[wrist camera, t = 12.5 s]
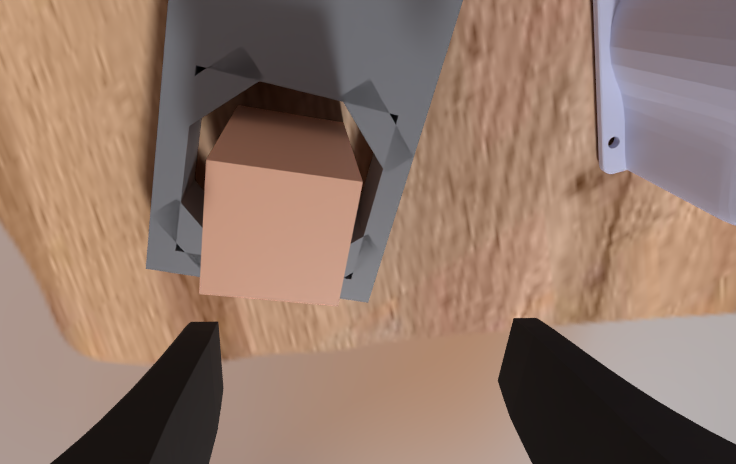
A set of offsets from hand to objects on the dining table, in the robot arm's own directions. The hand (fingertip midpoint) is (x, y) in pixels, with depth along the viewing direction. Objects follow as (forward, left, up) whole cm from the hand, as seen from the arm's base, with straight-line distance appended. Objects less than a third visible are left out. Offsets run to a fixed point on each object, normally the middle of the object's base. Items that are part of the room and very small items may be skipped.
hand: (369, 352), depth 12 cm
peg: (+2, +2, -10) cm, 11 cm away
